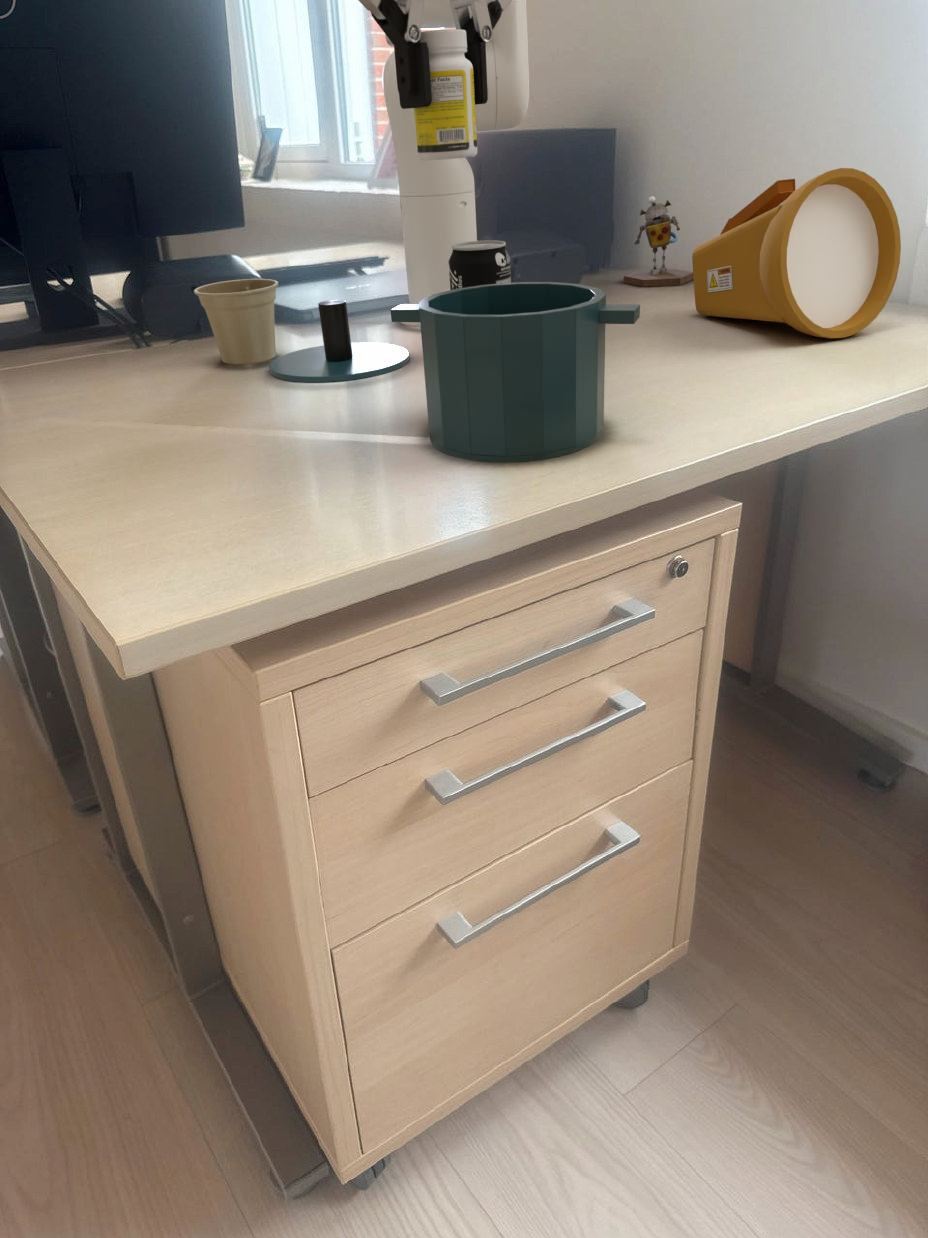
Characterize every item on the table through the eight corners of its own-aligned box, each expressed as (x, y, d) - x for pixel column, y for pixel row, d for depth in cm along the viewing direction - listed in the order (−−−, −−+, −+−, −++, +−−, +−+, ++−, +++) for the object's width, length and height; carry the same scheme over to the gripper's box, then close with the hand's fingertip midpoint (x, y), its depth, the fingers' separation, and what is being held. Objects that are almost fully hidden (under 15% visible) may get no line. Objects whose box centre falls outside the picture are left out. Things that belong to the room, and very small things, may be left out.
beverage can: (446, 357, 100) (438, 244, 94) (498, 349, 102) (493, 237, 96) (469, 369, 95) (462, 249, 89) (523, 360, 97) (520, 242, 91)
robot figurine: (692, 274, 139) (697, 190, 133) (700, 283, 131) (706, 195, 125) (621, 277, 141) (623, 194, 135) (625, 287, 133) (627, 199, 127)
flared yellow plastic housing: (902, 326, 99) (900, 154, 94) (785, 348, 93) (776, 167, 88) (776, 339, 117) (768, 196, 112) (671, 359, 111) (658, 209, 106)
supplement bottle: (442, 157, 72) (435, 35, 68) (489, 155, 70) (484, 28, 66) (405, 161, 69) (395, 33, 65) (453, 159, 67) (445, 26, 62)
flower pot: (271, 371, 99) (258, 291, 95) (195, 372, 101) (178, 294, 97) (301, 352, 107) (290, 277, 103) (230, 353, 109) (216, 279, 105)
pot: (436, 404, 84) (427, 282, 78) (647, 412, 77) (652, 280, 72) (373, 454, 72) (357, 315, 67) (615, 469, 66) (619, 317, 60)
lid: (311, 351, 107) (302, 289, 104) (430, 353, 102) (425, 288, 99) (243, 385, 94) (230, 316, 91) (375, 390, 90) (367, 317, 86)
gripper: (350, -250, 52) (383, 107, 61) (554, -207, 61) (557, 98, 70) (286, -211, 57) (325, 113, 66) (483, -176, 66) (494, 104, 75)
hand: (444, 102), depth 68 cm, fingers closed on supplement bottle, 4 cm apart
